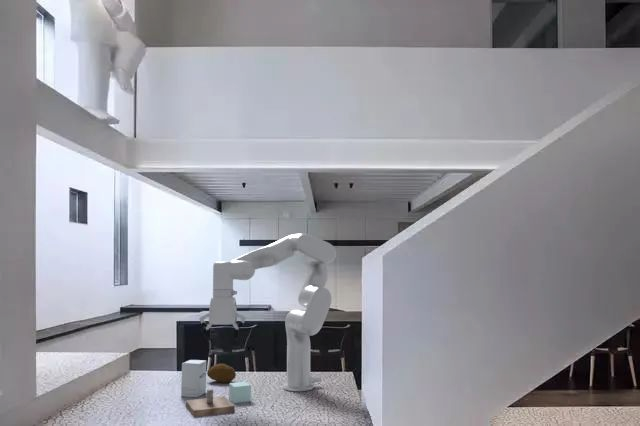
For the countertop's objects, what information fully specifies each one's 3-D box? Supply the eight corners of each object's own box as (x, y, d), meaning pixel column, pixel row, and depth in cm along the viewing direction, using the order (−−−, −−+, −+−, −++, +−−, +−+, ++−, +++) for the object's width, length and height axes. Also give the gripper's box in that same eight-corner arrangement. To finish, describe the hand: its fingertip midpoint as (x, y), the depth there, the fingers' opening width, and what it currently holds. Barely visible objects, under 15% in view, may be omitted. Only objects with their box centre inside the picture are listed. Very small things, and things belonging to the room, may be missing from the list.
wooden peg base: (224, 401, 203) (224, 383, 203) (234, 411, 190) (234, 392, 190) (185, 406, 197) (186, 387, 197) (193, 416, 184) (194, 396, 185)
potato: (234, 384, 230) (234, 365, 230) (204, 384, 229) (205, 365, 230) (237, 380, 238) (237, 361, 238) (208, 380, 238) (208, 361, 238)
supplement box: (198, 397, 209) (199, 363, 209) (180, 396, 210) (181, 362, 211) (206, 392, 216) (207, 360, 217) (188, 391, 217) (189, 359, 218)
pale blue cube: (245, 397, 209) (245, 381, 210) (250, 401, 204) (250, 385, 204) (229, 398, 207) (229, 383, 207) (233, 403, 201) (234, 386, 201)
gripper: (246, 293, 212) (246, 338, 211) (201, 293, 211) (201, 338, 210) (245, 294, 204) (244, 341, 203) (198, 295, 204) (197, 341, 202)
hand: (222, 339), depth 207 cm, fingers open, 9 cm apart
